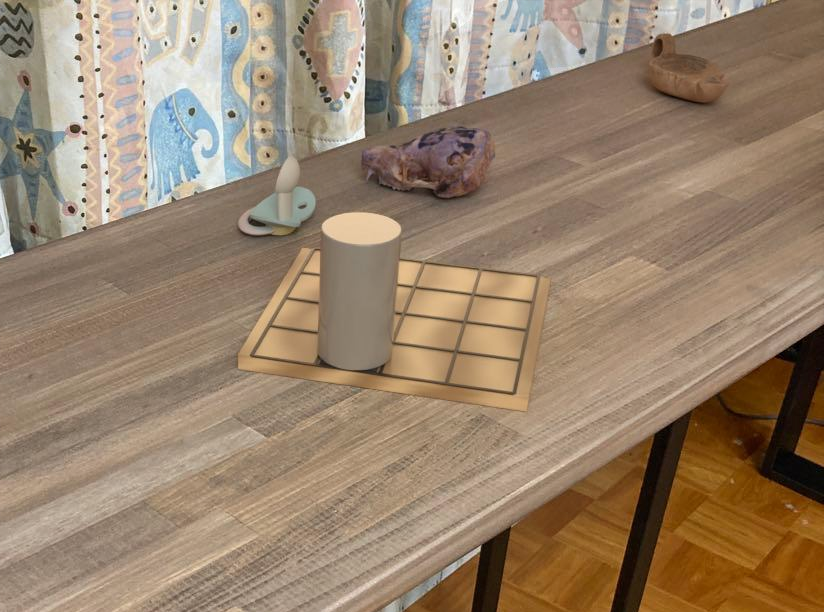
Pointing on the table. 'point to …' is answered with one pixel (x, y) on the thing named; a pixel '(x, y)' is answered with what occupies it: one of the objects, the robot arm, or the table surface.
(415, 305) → the board
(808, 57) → the table surface
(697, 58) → the oil lamp
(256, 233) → the pacifier
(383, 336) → the grey upright cylinder
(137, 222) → the table surface
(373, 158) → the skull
